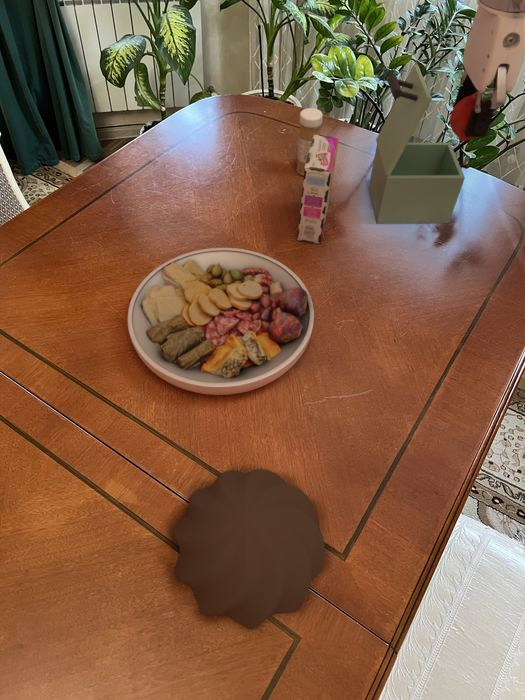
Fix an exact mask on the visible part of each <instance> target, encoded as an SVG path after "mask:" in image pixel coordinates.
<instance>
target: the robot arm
mask: <svg viewBox="0 0 525 700" xmlns="http://www.w3.org/2000/svg"><path fill="white" fill-rule="evenodd" d="M476 3H477V5H478V6H477V9H476V12H475V15H474V17H473V20H472V24H471V26H470V29H469V32H468V36H467V38H466V43H465V46H464V50H463V55H462V64H463V65H462V67H463V73H462V75H461V77H460V79H459V86H458V89H457V90H458V91H457V93H456V96H455V100H454V104H453V106H452V109H453V108H454V107H455V105H456V104H457V103H458V102H459V101H461V100H462V99H464V98H465V97H467V96H470V95H472V94H474V93H476V92H477V91H478V93H477V99H476V105H475V110H472V111H471V114H470V117H469V120H468V123H467V126H466V130H465V133H464V134H465V136H466V137H474V138H483V137H486V136H487V134H488V132H489V128H490V126H491V122H492V120H493V118H494V114H496V113H497V110H498V109H499V108H501V107H502V106H504V105H505V104H506V101H507V94H510V93H512V92H513V90H514V88H515V86H516V83H517V80H518V77H519V74H520V71H521V67H522V65H523V61H524V57H525V0H476ZM490 85H493V88H487V86H490ZM485 95H492V96H491V98H490V99H485ZM483 99H485V100H486V101H485V102H483Z"/></svg>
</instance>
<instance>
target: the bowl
mask: <svg viewBox="0 0 525 700" xmlns="http://www.w3.org/2000/svg"><path fill="white" fill-rule="evenodd" d="M314 322H315V310H314V303H313V301H312V297H311V294H310V292H309V290H308V288H307V287H306V285H305V284H304V282H303V280H302V279H301V278H300V277H299V276H298V275H297V274H296V273H295V272H294V271H293V270H291V269H290V268H289V267H288V266H286V265H285V264H283V263H281V261H278V260H277V259H275V258H273V257H271V256H268V255H266V254H263V253H260V252H257V251H253V250H249V249H243V248H235V247H210V248H202V249H198V250H193V251H189V252H186V253H183V254H180V255H178V256H176V257H173V258H171V259H169V260H168V261H165V262H164V263H162V264H160V265H159V266H158V267H156V268H155V269H154V270H152V271H151V272H150V273H149V274H148V275H147V276H146V277H145V278H144V279H143V280H142V281H141V282H140V284H139V285H138V286H137V288H136V289H135V291H134V293H133V295H132V296H131V300H130V302H129V306H128V310H127V329H128V333H129V337H130V340H131V344H132V346H133V348H134V350H135V352H136V354H137V355H138V357H139V358H140V359H141V361H142V362H143V363H144V365H145V366H146V367H147V368H148V369H149V370H150V371H151V372H152V373H154V374H155V375H156V376H157V377H159V378H160V379H162V380H164V381H165V382H167V383H169V384H171V385H173V386H175V387H176V388H180V389H182V390H185V391H188V392H192V393H197V394H202V395H211V396H226V395H236V394H241V393H246V392H250V391H253V390H256V389H259V388H261V387H265V386H266V385H269V384H270V383H272V382H274V381H275V380H277V379H279V378H280V377H282V376H283V375H285V373H287V372H288V371H289V370H290V369H292V368H293V366H294V365H295V364H296V363H297V362H298V361H299V359H300V358H301V357H302V356H303V354H304V353H305V350H306V349H307V348H308V345H309V343H310V340H311V337H312V334H313V328H314Z"/></svg>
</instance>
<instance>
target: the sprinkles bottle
mask: <svg viewBox="0 0 525 700" xmlns="http://www.w3.org/2000/svg"><path fill="white" fill-rule="evenodd" d="M323 116H324V115H323V112H322V111H321V110H320V109H318V108H313V107H307V108H303V109H302V110H301V111H300V112H299V134H298V144H297V145H298V146H297V156H296V157H297V161H296V173H297V174H298V175H300V176H302V177H304V168H305V163H306V160H307V156H308V153H309V150H310V146H311V143H312V139H313V136H314V135H321V130H322V129H321V127H322V124H323Z"/></svg>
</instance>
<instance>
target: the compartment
mask: <svg viewBox="0 0 525 700" xmlns="http://www.w3.org/2000/svg"><path fill="white" fill-rule="evenodd" d="M458 160H459V159H458V157H457V155H456V153H455V151H454V148H453V146H452V144H451V142H408V144H407V145H406V147H405V149H404V151H403V153H402V154H401V156H400V158H399V160H398V162H397V163H396V165H395V167H394V169H393V171H392V173H391V174H390V176H387V175H386V174H385V171H384V167H383V163H382V160H381V156H380V153H379V149H378V145H377V144H376V148H375V152H374V156H373V161H372V166H371V167H372V168H371V172H370V178H369V182H368V186H367V187H368V194H369V198H370V202H371V206H372V211H373V215H374V218H375V223H376V225H411V224H412V225H418V224H419V225H425V224H428V225H429V224H430V225H431V224H432V225H433V224H437V223H438V224H439V223H441V225H444V224H445V225H446V224H450V222H451V219H452V215H453V214H454V210H455V207H456V205H457V201H458V199H459V196H460V193H461V190H462V187H463V184H464V181H465V179H466V177H465V175H464V172H463V170H462V168H461V165H460V162H459V161H458Z"/></svg>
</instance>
